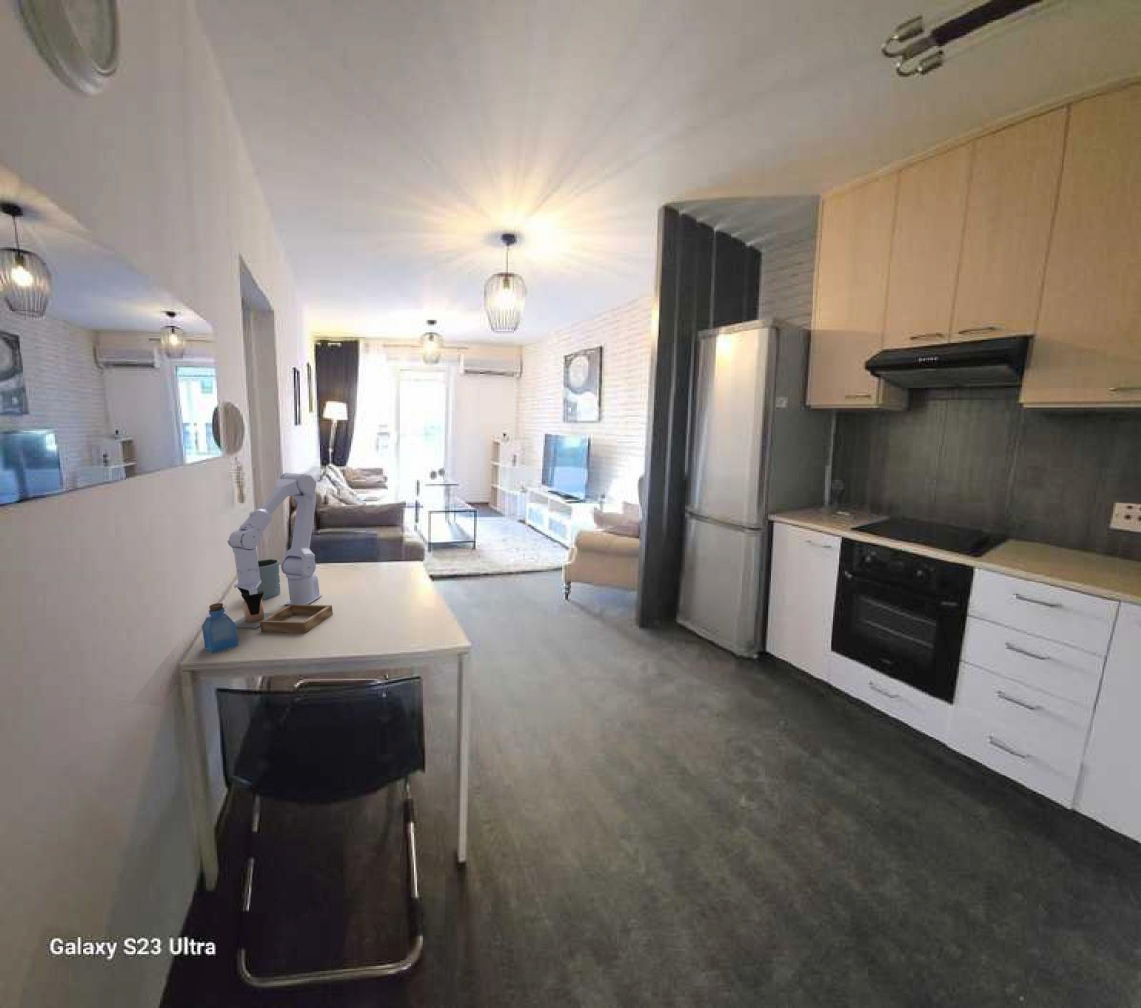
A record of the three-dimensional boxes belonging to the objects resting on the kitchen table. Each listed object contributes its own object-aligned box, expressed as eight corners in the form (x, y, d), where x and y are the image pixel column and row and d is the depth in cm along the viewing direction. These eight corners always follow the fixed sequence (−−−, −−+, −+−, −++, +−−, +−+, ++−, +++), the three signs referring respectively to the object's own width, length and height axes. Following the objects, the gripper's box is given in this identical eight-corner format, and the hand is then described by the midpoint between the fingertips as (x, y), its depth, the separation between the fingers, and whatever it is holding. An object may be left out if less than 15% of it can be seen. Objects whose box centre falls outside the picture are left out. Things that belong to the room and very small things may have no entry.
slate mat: (252, 613, 160) (252, 612, 160) (281, 614, 159) (281, 613, 159) (225, 628, 149) (225, 626, 149) (256, 629, 148) (256, 627, 148)
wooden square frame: (291, 613, 160) (290, 604, 160) (332, 614, 159) (331, 605, 158) (260, 631, 147) (259, 621, 146) (305, 632, 145) (304, 623, 145)
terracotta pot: (254, 615, 157) (252, 597, 156) (268, 616, 156) (265, 598, 155) (241, 622, 152) (238, 603, 151) (255, 623, 151) (252, 604, 150)
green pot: (288, 590, 181) (285, 559, 179) (269, 600, 172) (265, 567, 169) (262, 590, 182) (259, 558, 180) (242, 600, 173) (238, 566, 170)
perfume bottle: (231, 639, 142) (225, 599, 139) (238, 645, 138) (233, 604, 136) (205, 647, 137) (198, 606, 135) (212, 653, 133) (206, 611, 131)
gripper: (229, 565, 154) (234, 607, 157) (234, 576, 143) (240, 621, 146) (255, 561, 159) (260, 601, 161) (263, 571, 148) (268, 615, 150)
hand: (253, 610), depth 154 cm, fingers open, 7 cm apart
